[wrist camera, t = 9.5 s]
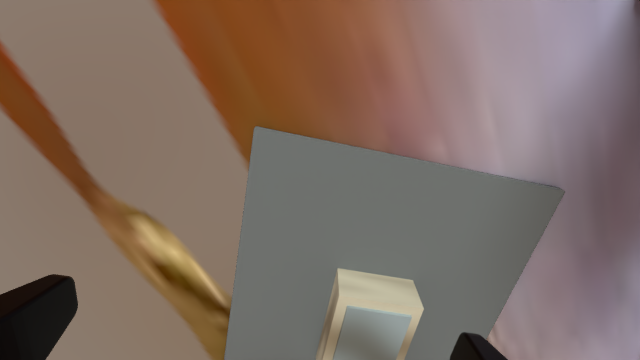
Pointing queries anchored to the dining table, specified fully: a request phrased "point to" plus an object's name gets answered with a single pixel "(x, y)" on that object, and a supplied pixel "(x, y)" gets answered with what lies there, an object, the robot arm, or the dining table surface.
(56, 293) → the robot arm
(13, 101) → the dining table surface
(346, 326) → the framed mirror
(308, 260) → the grey rectangular board
